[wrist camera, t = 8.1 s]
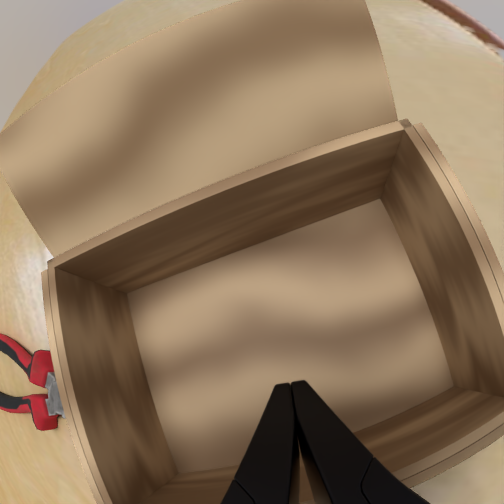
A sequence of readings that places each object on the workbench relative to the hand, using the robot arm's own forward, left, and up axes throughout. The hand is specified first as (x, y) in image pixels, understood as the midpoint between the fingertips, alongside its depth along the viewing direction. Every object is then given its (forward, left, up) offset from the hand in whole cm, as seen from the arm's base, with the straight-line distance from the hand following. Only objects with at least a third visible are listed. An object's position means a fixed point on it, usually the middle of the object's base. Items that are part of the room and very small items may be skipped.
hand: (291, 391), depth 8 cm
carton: (0, +2, -13) cm, 13 cm away
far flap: (+7, +10, -1) cm, 12 cm away
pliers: (-18, +18, -14) cm, 29 cm away
